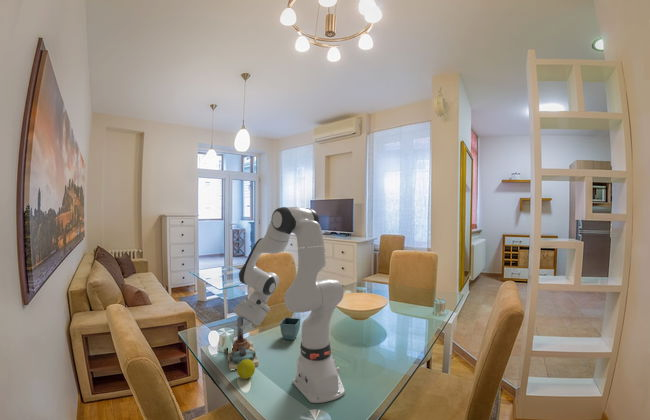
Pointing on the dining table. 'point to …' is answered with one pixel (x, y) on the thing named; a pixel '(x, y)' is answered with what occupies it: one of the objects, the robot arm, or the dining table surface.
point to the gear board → (241, 353)
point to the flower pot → (290, 328)
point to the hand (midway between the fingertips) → (239, 327)
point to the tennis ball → (246, 369)
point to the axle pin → (239, 330)
